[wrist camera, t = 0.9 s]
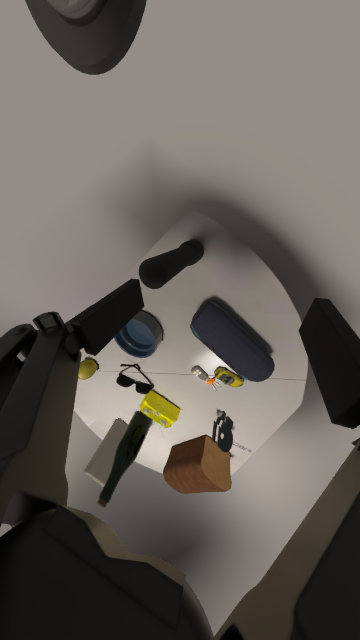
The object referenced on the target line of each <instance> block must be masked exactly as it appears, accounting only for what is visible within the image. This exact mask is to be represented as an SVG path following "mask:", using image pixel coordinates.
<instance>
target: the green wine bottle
mask: <svg viewBox="0 0 360 640" xmlns="http://www.w3.org/2000/svg"><path fill="white" fill-rule="evenodd" d="M151 423H152V420H151V418H150V417H148V416H147V415H145V414H144V413H142V412H136V413H134V415H133V417H132V419H131V421H130V422H129V424H128V426H127V428H126V430H125V432H124V434H123V436H122V438H121V440H120V442H119V444H118V446H117V449H116V452H115V456H114V461H113V465H112V469H111V472H110V475H109V477H108V479H107V481H106V484H105V486H104V488H103V490H102V491H101V493H100V495H99V500H98V504H99V505H100V506H102V507H106V505H107V503H109V501H110V499H111V497H112V494H113V492H114V490H115V488H116V486H117V484H118V482H119V480H120V479H121V477H122V475H123V474H124V473H125V471H126V470H127V469H128V468H129V467H130V465H131V464H132V463H133V461H134V460H135V458H136V457H137V455H138V453H139V451H140V449H141V446H142V444H143V442H144V440H145V437H146V435H147V433H148V431H149V428H150V426H151Z"/></svg>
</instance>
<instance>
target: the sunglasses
mask: <svg viewBox="0 0 360 640" xmlns="http://www.w3.org/2000/svg"><path fill="white" fill-rule="evenodd" d="M121 366H130V367H135V368H136V369H137V370H138V371H139V372H140V373H141V374H142V375H143V376H144V377H145V378H146V379H147V380H148V382H149V383H150V384H151V385H149V384H145V383H139V382H135V381H134V380H132V379H131V378H129V377H127V376H125V375H122V374H120V373H121V372H120V373H119V377H118V378H117V384H119V385H120V386H123V387H129V386H131V385H132V384H136V391H137V392H138V393H141V394H148V393H149V392H150V391H151V389H152V388H154V385H153V384H152V383H151V381H150V380H149V379H148V378H147V377H146V376H145V375H144V374H143V373H142V372H141V371H140V370H139V369H140V366H139V365H138V364H135V365H128V364H121ZM136 366H137V367H138V368H137V367H136ZM130 367H128V368H130ZM128 368H126V369H128ZM126 369H125V370H126ZM123 371H124V370H123ZM123 371H122V372H123Z"/></svg>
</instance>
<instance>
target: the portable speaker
mask: <svg viewBox="0 0 360 640" xmlns="http://www.w3.org/2000/svg"><path fill="white" fill-rule="evenodd" d="M190 328H191V330H192V332H193V334H194V336H196V337H197V338H198V339H199V340H200V341H201V342H202V343H203V344H205V345H206V346H207V347H208V348H209V349H210V350H211V351H212V352H214V353H215V354H216V355H217V356H218V357H219V358H220V359H221V360H223V361H224V362H225V363H226V364H227V365H228V366H229V367H230V368H232V369H233V370H234V371H235V372H236V373H237V374H238V375H239V376H241V377H242V378H244V379H246V380H250V381H255V382H260V381H264V380H266V379H267V378H269V377H270V376H271V375H272V373H273V371H274V365H275V364H274V361H273V359H272V357H271V356H270V355H269V353H268V352H267V351H266V350H265V349H264V348H263V347H262V346H261V345H260V344H259V343H258V342H257V341H256V340H255V339H254V338H253V337H252V336H251V335H250V334H249V333H247V332H246V331H245V330H244V329H243V328H242V327H241V326H240V325H239V324H238V323H237V322H236V321H235V320H234V319H233V318H232V317H231V316H229V315H228V314H227V313H226V312H225V311H224V310H223V309H222V308H221V307H219V306H218V305H217V304H215V303H213V302H209V303H208V304H205V305H203V306H202V307H201V308H200V309H199V310H198V311H197V312H196V313H195V315H194V316H193V318H192V323H191V325H190Z"/></svg>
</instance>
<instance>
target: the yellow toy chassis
mask: <svg viewBox="0 0 360 640" xmlns="http://www.w3.org/2000/svg"><path fill="white" fill-rule="evenodd" d="M140 409H141V412H142V413H144V412H145V413H144V414H145V415H147V416H148V417H150V418H151V419H153V420H154V421H156V422H157V423H159V424H160V425H162V426H163V427H165V428H168V427H171V424H172V423H174V422H175V421H177V419H178V415H179V412H180V409H179V408H177V407H176V406H174V405H173V404H171V403H170V402H168V400H165V399H164V398H163V397H161V396H159V395H158V394H156V393H155V392H154V391H152V390H151V391H150V392H149V393H148V394H146V395H145V397H144V399H143V401H142V403H141V405H140ZM146 410H147V411H146ZM164 425H165V426H164Z"/></svg>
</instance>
